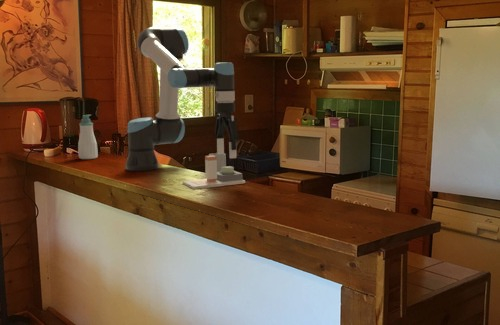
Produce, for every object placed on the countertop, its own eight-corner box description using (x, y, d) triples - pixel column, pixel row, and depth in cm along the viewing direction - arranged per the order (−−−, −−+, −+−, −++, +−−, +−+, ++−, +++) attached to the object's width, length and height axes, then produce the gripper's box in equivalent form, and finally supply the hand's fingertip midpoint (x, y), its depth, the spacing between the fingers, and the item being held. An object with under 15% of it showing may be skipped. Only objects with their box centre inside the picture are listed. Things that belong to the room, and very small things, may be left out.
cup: (214, 176, 240) (214, 156, 239) (203, 173, 248) (202, 153, 247) (229, 174, 244) (228, 154, 243) (217, 171, 252) (217, 151, 251)
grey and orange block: (205, 180, 226) (204, 156, 224) (213, 180, 227) (213, 155, 226) (209, 182, 222) (208, 157, 221) (217, 181, 224) (216, 156, 222)
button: (219, 174, 230) (219, 167, 229) (230, 173, 232) (230, 165, 232) (224, 176, 225) (224, 168, 225) (235, 175, 228) (235, 167, 227)
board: (182, 183, 226) (182, 175, 225) (232, 178, 236) (232, 170, 235) (193, 189, 215) (193, 180, 215) (245, 183, 225) (245, 174, 224)
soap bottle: (101, 157, 302) (99, 114, 299) (89, 160, 294) (86, 116, 290) (87, 156, 306) (84, 114, 303) (74, 159, 298) (71, 115, 294)
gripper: (205, 101, 233) (207, 153, 236) (228, 103, 212) (230, 160, 215) (222, 100, 236) (223, 151, 240) (246, 102, 215) (248, 159, 218)
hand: (226, 156), depth 227 cm, fingers open, 12 cm apart
